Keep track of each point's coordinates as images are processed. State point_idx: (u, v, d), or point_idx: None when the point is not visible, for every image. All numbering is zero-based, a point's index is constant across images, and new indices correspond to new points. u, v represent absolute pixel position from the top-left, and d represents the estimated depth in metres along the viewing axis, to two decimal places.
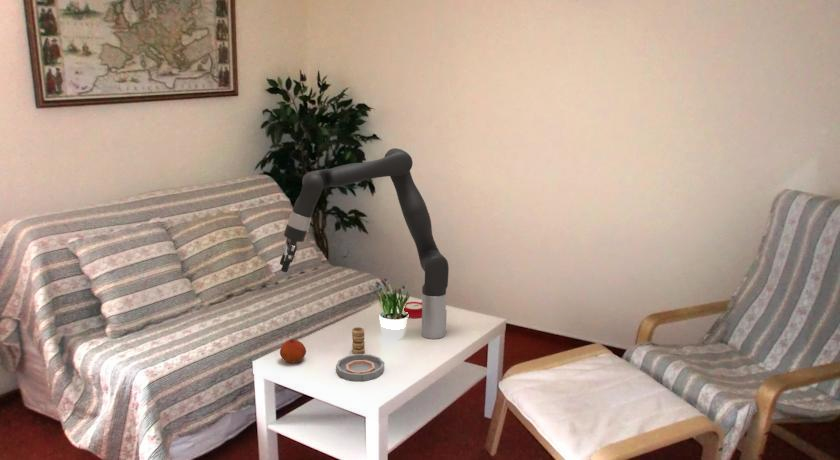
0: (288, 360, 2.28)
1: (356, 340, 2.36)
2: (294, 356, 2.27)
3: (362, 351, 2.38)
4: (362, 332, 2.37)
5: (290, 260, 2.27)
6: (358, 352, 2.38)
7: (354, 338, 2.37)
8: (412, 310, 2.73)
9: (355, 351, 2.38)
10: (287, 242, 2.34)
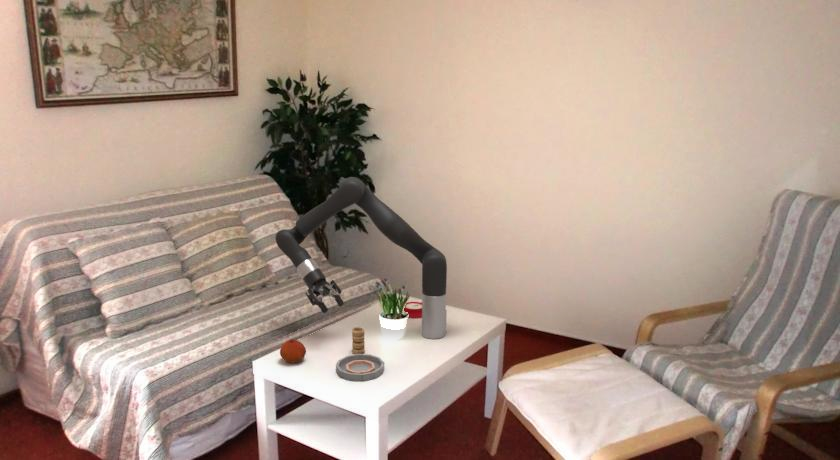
0: (288, 360, 2.28)
1: (356, 340, 2.36)
2: (294, 356, 2.27)
3: (362, 351, 2.38)
4: (362, 332, 2.37)
5: (314, 301, 2.38)
6: (358, 352, 2.38)
7: (354, 338, 2.37)
8: (412, 310, 2.73)
9: (355, 351, 2.38)
10: None
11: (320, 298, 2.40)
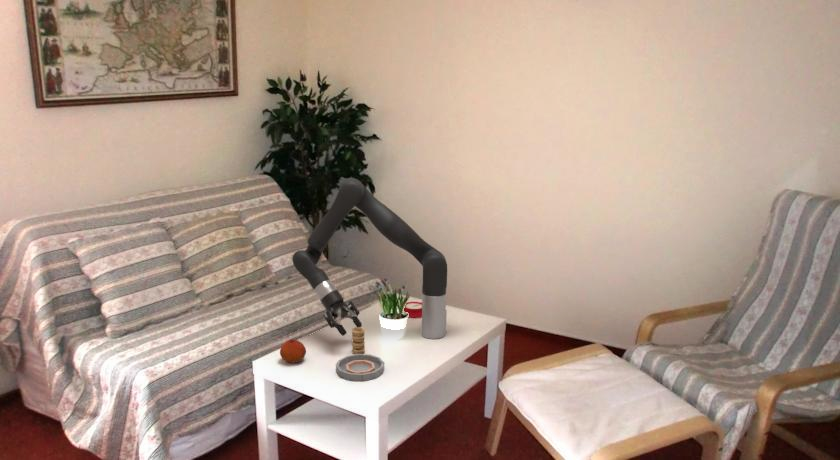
0: (288, 360, 2.28)
1: (356, 340, 2.36)
2: (294, 356, 2.27)
3: (362, 351, 2.38)
4: (362, 332, 2.37)
5: (332, 324, 2.35)
6: (358, 352, 2.38)
7: (354, 338, 2.37)
8: (412, 310, 2.73)
9: (355, 351, 2.38)
10: None
11: (338, 320, 2.37)
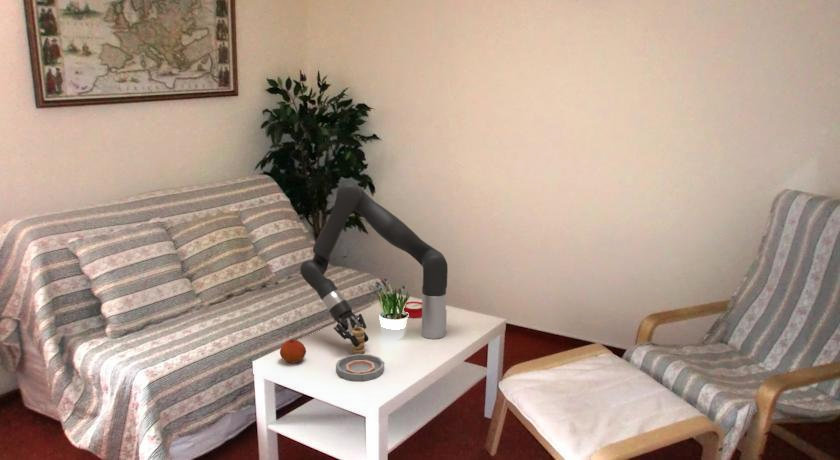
0: (288, 360, 2.28)
1: None
2: (294, 356, 2.27)
3: (362, 351, 2.38)
4: (362, 332, 2.37)
5: (346, 336, 2.34)
6: (358, 352, 2.38)
7: None
8: (412, 310, 2.73)
9: (355, 351, 2.38)
10: None
11: (351, 332, 2.36)
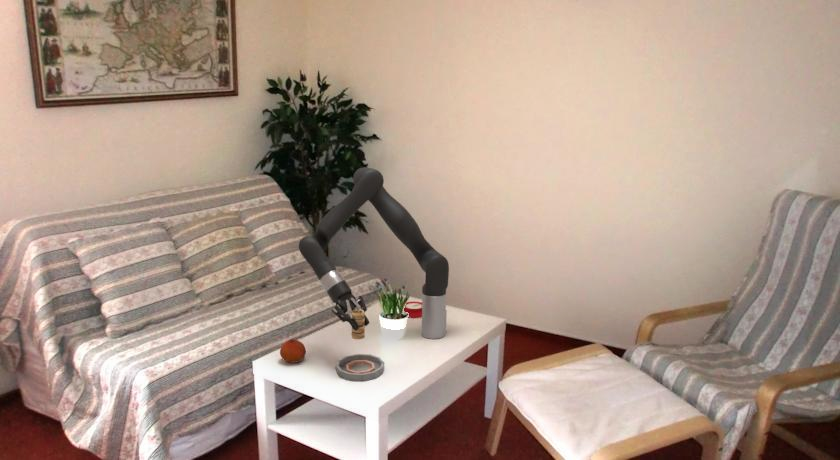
0: (288, 360, 2.28)
1: None
2: (294, 356, 2.27)
3: (362, 335, 2.22)
4: (362, 315, 2.20)
5: (345, 318, 2.18)
6: (358, 336, 2.21)
7: None
8: (412, 310, 2.73)
9: (354, 335, 2.21)
10: None
11: (350, 314, 2.20)
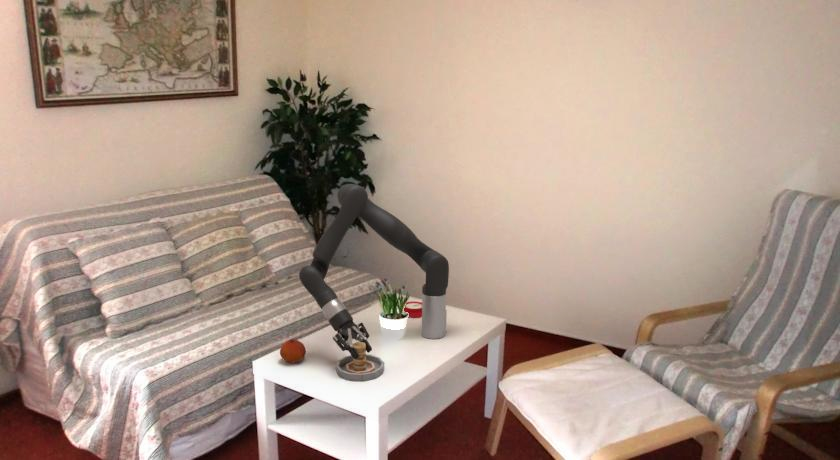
0: (288, 360, 2.28)
1: None
2: (294, 356, 2.27)
3: (363, 367, 2.24)
4: (364, 347, 2.22)
5: (344, 347, 2.19)
6: (359, 369, 2.23)
7: None
8: (412, 310, 2.73)
9: (356, 368, 2.23)
10: None
11: (350, 343, 2.21)
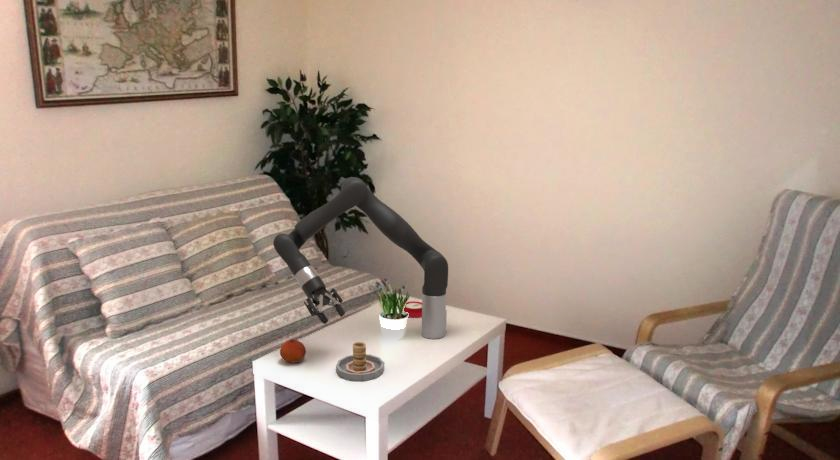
0: (288, 360, 2.28)
1: (357, 356, 2.22)
2: (294, 356, 2.27)
3: (363, 368, 2.24)
4: (364, 348, 2.22)
5: (313, 311, 2.23)
6: (359, 369, 2.23)
7: (355, 354, 2.22)
8: (411, 309, 2.73)
9: (356, 368, 2.23)
10: None
11: (320, 308, 2.25)
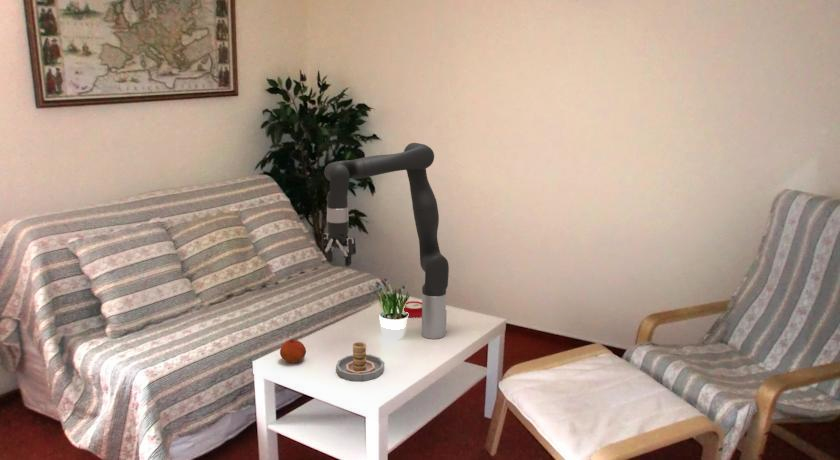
0: (288, 360, 2.28)
1: (357, 356, 2.22)
2: (294, 356, 2.27)
3: (363, 368, 2.24)
4: (364, 348, 2.22)
5: (354, 252, 2.29)
6: (359, 369, 2.23)
7: (355, 354, 2.22)
8: (411, 309, 2.73)
9: (356, 368, 2.23)
10: (333, 239, 2.31)
11: None
